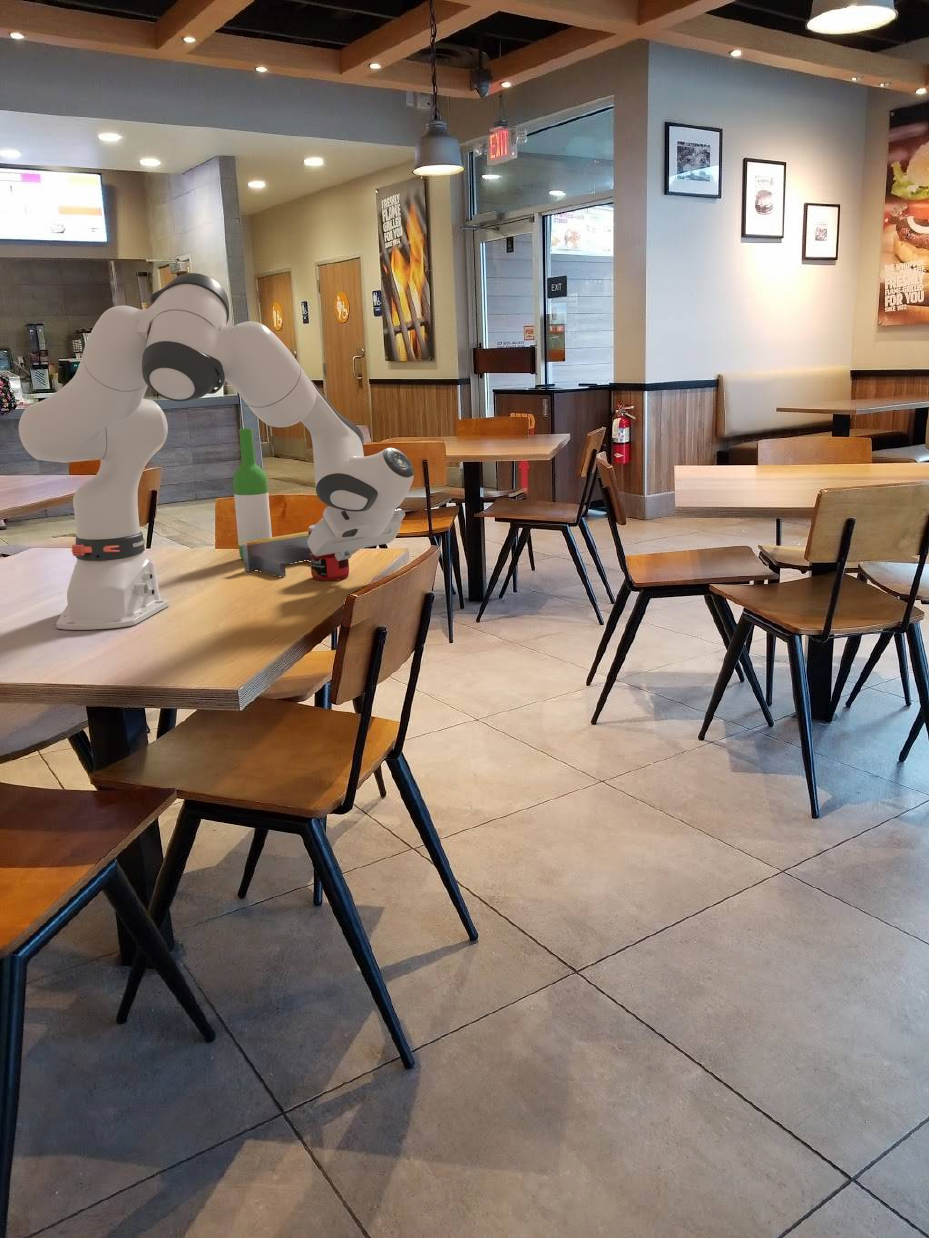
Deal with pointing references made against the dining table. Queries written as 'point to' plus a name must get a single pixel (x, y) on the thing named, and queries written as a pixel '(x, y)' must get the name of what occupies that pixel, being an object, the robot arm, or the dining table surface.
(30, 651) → the dining table surface
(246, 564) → the loading bay
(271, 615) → the dining table surface
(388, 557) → the dining table surface
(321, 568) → the canned food
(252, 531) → the wine bottle
